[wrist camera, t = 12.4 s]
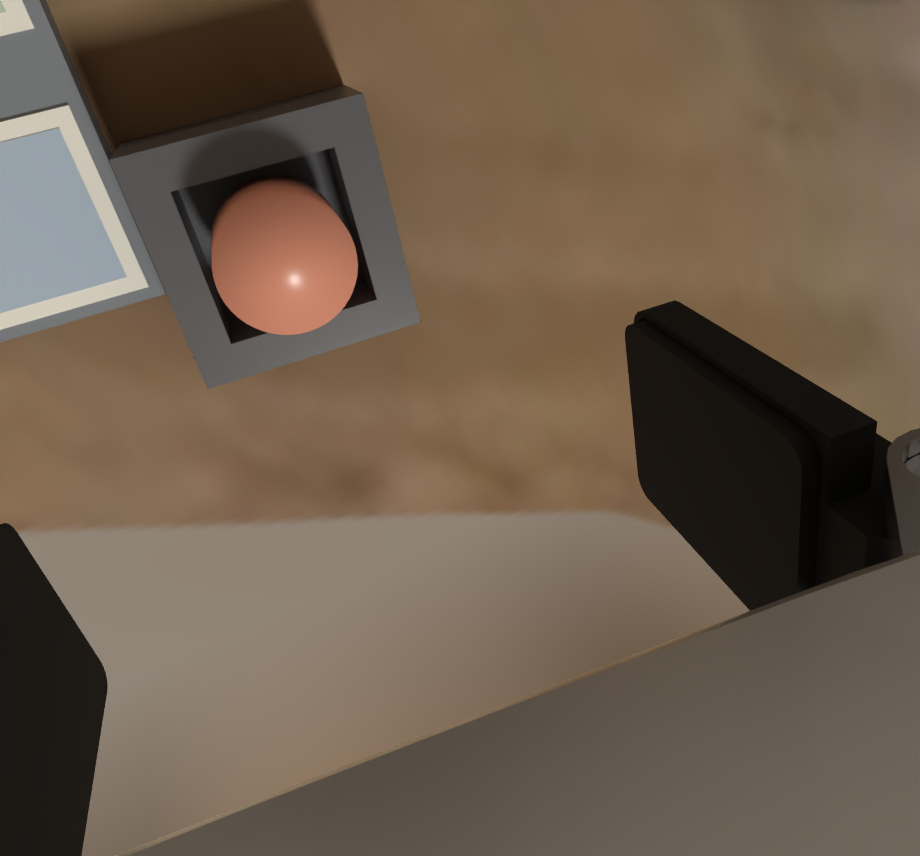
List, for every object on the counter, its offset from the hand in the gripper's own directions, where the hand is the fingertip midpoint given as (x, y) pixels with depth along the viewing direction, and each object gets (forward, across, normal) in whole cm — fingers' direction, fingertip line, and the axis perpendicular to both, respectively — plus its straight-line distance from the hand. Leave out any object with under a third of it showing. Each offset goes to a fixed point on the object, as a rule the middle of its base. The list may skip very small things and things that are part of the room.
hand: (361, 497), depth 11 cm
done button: (+15, 0, 0) cm, 15 cm away
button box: (+18, 0, 0) cm, 18 cm away
